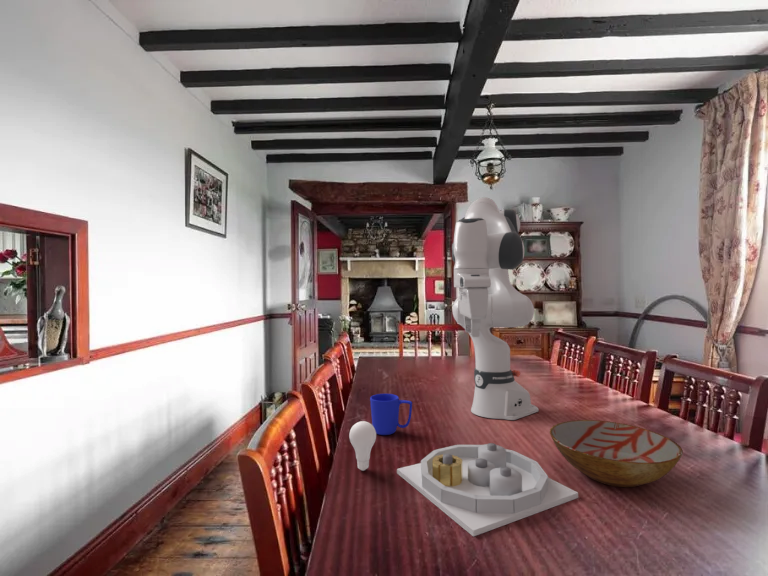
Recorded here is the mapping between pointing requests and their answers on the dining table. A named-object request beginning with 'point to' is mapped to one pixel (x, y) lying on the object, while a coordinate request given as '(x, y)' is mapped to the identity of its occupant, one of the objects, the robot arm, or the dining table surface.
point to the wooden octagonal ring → (447, 471)
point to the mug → (387, 413)
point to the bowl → (615, 451)
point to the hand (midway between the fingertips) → (471, 334)
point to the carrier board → (488, 486)
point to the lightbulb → (362, 442)
